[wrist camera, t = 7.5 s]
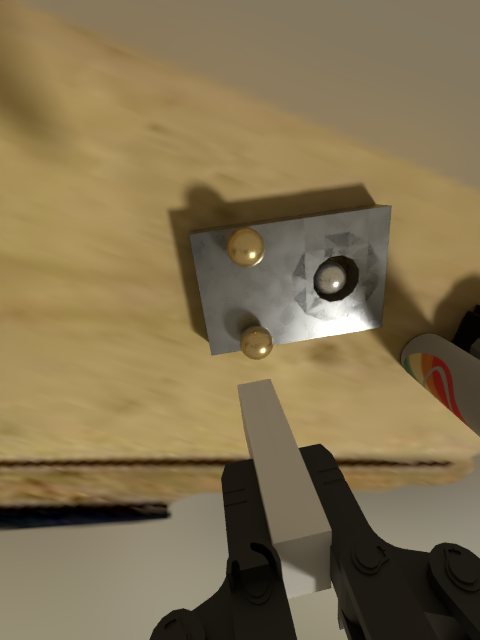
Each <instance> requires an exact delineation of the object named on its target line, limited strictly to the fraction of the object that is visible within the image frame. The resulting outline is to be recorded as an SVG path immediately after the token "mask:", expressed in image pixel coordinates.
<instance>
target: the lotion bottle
mask: <svg viewBox="0 0 480 640" xmlns="http://www.w3.org/2000/svg"><path fill="white" fill-rule="evenodd" d="M401 364H402V366H403V368H404V369H405V370H406V371H407V372H408V373H409V374H410V375H411V376H412V377H413V378H414V379H415V380H416V381H417V382H419V383H420V384H421V385H422V386H423V387H424V388H425V389H426V390H428V391H429V392H430V393H431V394H432V395H433V396H434V397H435V398H437V399H438V400H439V401H440V402H441V403H442V404H443V405H444V406H446V407H447V408H448V409H449V410H450V411H451V412H452V413H453V414H455V415H456V416H457V417H458V418H459V419H460V420H461V421H462V422H464V423H465V424H466V425H467V426H468V427H469V428H470V429H471V430H473V431H474V432H475V433H476V434H477V435H478V436H479V437H480V360H478V359H477V358H475V357H474V356H472V355H470V354H469V353H467V352H465V351H464V350H462V349H461V348H459V347H457V346H456V345H454V344H452V343H451V342H449V341H447V340H446V339H444V338H442V337H440V336H438V335H436V334H430V333H428V334H422V335H419V336H417V337H415V338H414V339H412V340H411V341H410V342H409V343H408V344H407V345H406V346H405V348H404V349H403V351H402V354H401Z"/></svg>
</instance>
